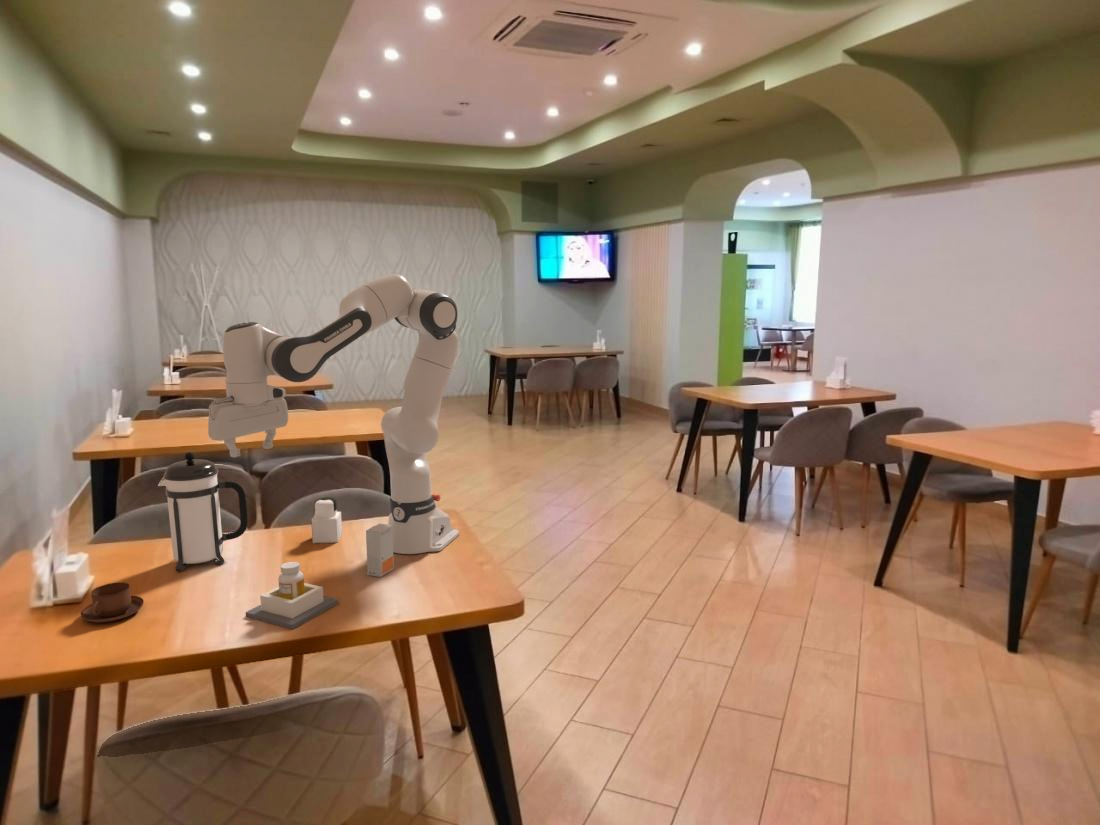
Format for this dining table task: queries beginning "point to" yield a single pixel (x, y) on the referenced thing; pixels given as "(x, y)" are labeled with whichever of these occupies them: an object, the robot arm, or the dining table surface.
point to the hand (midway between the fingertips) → (252, 452)
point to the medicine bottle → (326, 521)
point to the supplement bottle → (291, 581)
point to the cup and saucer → (111, 603)
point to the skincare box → (379, 550)
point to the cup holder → (291, 607)
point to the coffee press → (198, 511)
